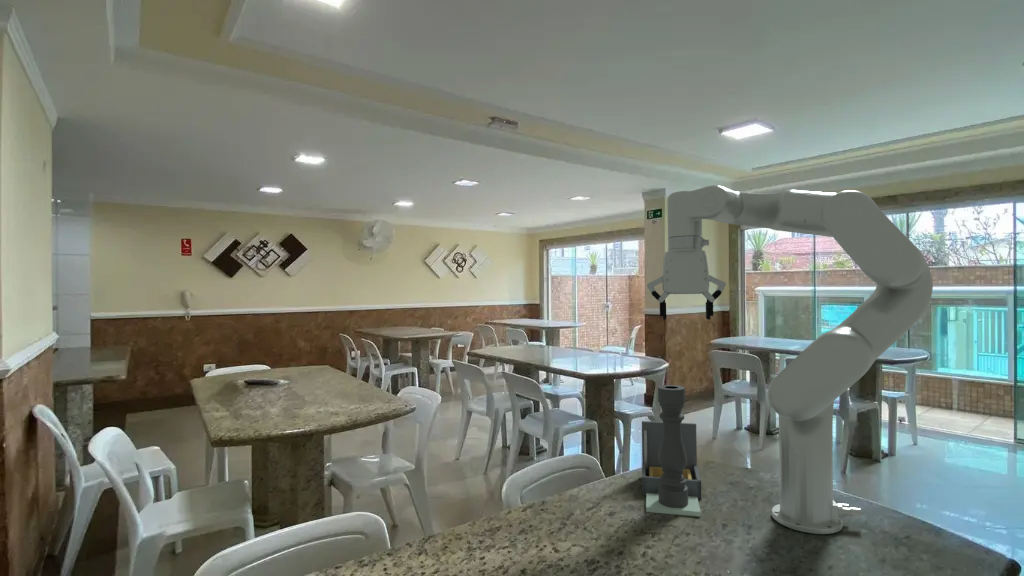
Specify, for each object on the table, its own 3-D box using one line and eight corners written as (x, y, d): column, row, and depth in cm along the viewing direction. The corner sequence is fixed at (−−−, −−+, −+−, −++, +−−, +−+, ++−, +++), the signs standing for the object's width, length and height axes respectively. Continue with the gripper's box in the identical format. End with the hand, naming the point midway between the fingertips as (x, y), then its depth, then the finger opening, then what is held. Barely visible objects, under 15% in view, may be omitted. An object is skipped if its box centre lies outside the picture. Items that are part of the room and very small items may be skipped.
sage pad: (697, 501, 118) (697, 497, 118) (700, 516, 110) (700, 511, 110) (646, 497, 121) (646, 492, 121) (646, 511, 113) (646, 507, 113)
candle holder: (693, 501, 116) (691, 386, 116) (680, 510, 111) (678, 391, 111) (666, 494, 120) (664, 383, 120) (653, 502, 115) (651, 387, 115)
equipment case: (696, 480, 131) (695, 423, 131) (701, 499, 119) (700, 437, 119) (642, 476, 134) (641, 421, 134) (642, 494, 123) (641, 433, 123)
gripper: (722, 245, 124) (723, 318, 124) (646, 247, 129) (647, 318, 129) (727, 242, 117) (728, 320, 117) (646, 245, 121) (647, 320, 121)
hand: (686, 319), depth 123 cm, fingers open, 9 cm apart
